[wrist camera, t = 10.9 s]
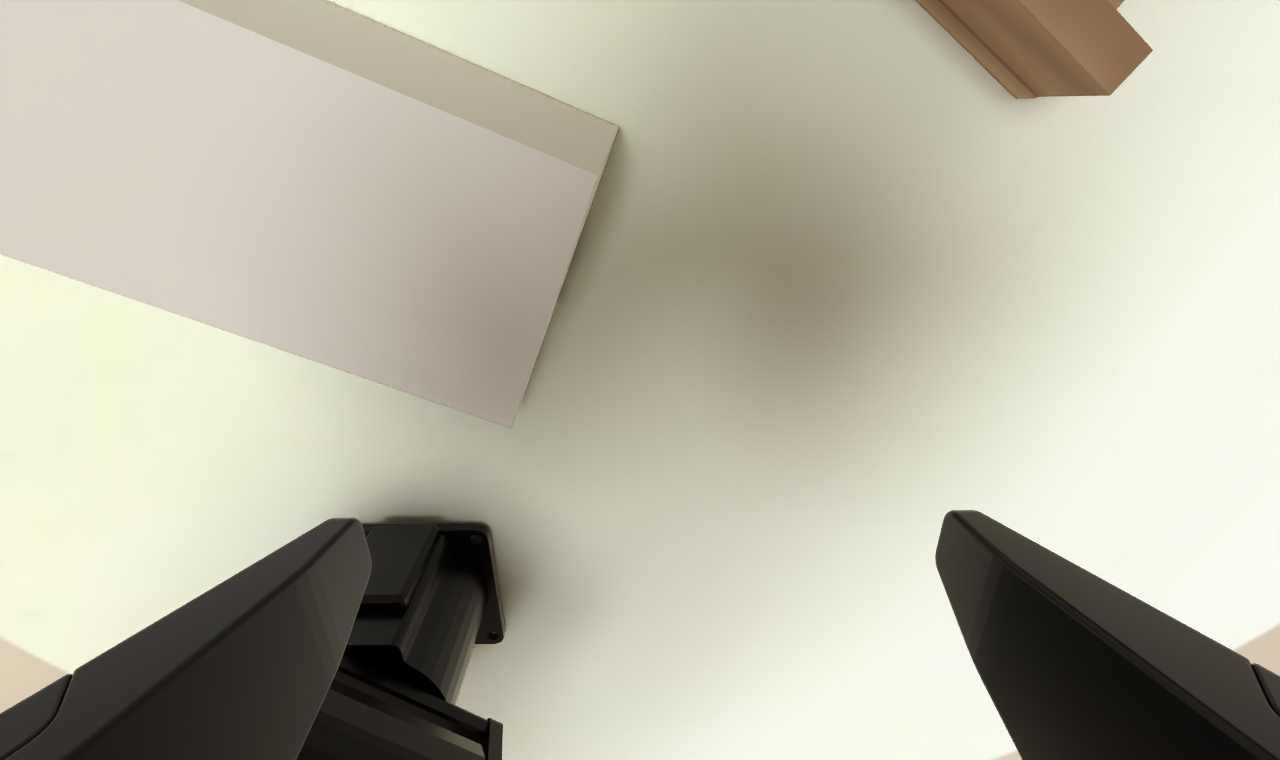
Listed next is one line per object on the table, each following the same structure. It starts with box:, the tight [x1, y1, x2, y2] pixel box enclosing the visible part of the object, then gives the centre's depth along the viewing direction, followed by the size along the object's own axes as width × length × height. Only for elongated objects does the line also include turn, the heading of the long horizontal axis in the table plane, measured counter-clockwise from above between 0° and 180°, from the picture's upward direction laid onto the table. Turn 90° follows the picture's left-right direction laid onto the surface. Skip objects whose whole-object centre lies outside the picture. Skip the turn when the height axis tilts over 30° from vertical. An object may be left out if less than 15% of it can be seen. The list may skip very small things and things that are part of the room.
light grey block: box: [0, 0, 619, 428], centre depth 18 cm, size 34×5×10 cm
